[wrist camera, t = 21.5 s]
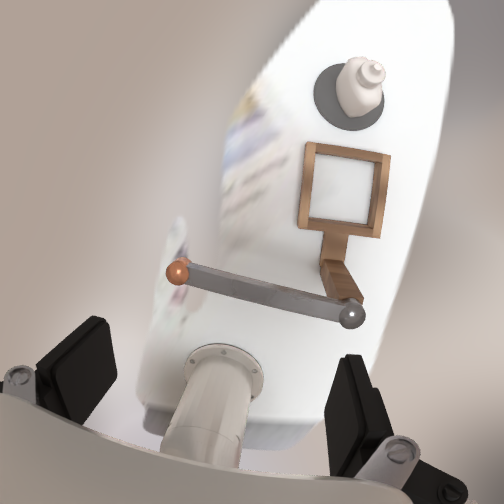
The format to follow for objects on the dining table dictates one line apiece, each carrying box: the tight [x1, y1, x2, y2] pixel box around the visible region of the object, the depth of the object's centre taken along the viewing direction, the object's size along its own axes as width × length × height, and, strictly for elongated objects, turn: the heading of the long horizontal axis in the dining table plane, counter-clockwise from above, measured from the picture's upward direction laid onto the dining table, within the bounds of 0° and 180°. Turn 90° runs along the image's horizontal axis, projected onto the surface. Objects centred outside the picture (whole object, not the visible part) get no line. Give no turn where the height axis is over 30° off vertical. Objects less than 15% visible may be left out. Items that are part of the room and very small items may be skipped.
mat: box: [314, 63, 384, 131], centre depth 32 cm, size 9×9×1 cm
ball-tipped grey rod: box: [166, 257, 366, 329], centre depth 26 cm, size 18×2×2 cm, turn 77°
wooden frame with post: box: [297, 142, 391, 305], centre depth 30 cm, size 16×10×13 cm, turn 175°
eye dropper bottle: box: [336, 57, 386, 117], centre depth 26 cm, size 4×6×12 cm
